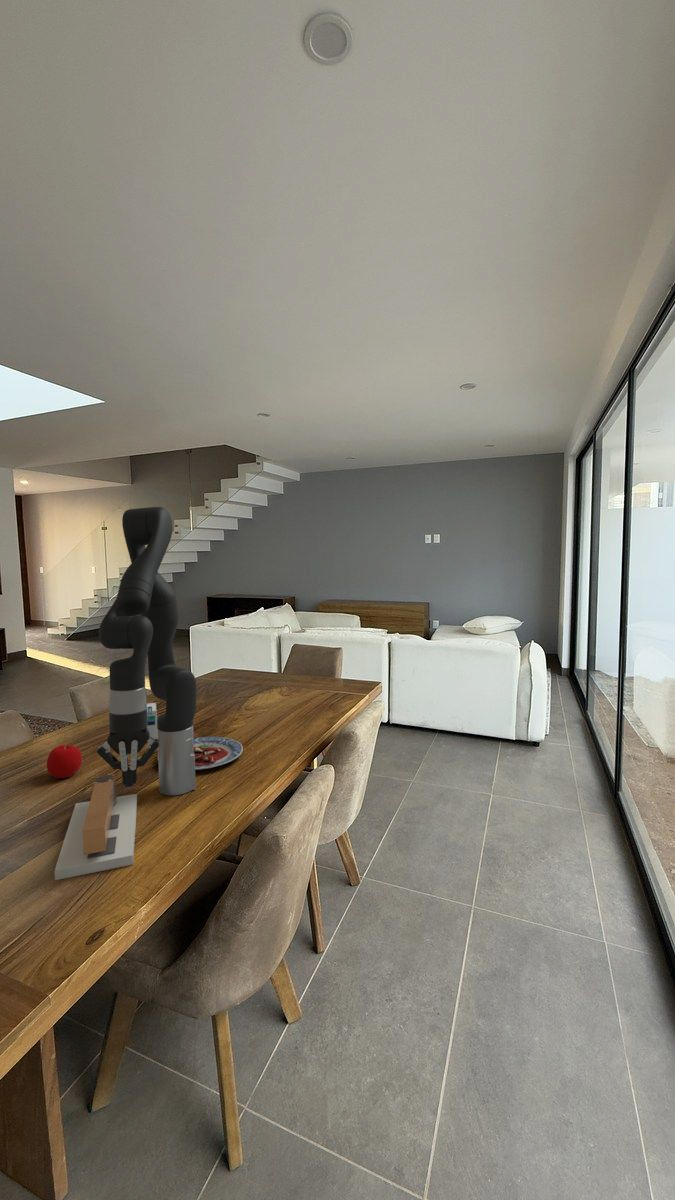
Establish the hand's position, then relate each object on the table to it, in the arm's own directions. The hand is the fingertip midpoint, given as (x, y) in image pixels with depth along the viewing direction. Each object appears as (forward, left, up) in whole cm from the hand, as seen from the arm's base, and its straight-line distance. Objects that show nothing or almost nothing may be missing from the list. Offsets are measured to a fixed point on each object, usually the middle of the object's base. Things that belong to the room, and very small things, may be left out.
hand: (129, 785), depth 107 cm
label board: (+6, -5, -13) cm, 15 cm away
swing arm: (+6, -5, -9) cm, 12 cm away
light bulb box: (-3, -67, -13) cm, 68 cm away
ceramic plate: (-19, -42, -13) cm, 48 cm away
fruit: (+19, -43, -13) cm, 49 cm away
